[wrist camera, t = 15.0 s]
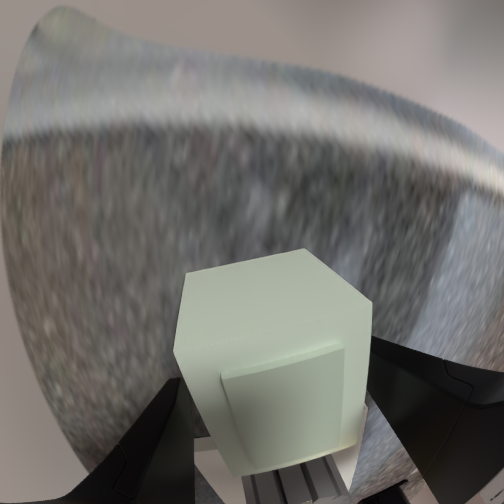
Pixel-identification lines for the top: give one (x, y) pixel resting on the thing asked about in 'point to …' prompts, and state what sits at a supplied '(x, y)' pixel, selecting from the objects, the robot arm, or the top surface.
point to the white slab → (282, 477)
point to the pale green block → (275, 359)
